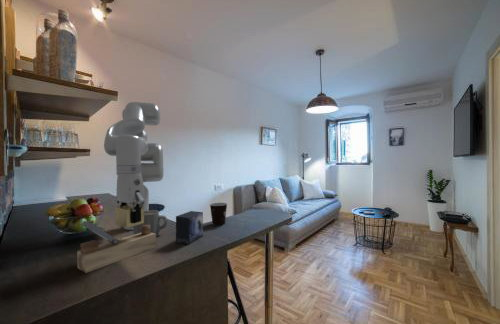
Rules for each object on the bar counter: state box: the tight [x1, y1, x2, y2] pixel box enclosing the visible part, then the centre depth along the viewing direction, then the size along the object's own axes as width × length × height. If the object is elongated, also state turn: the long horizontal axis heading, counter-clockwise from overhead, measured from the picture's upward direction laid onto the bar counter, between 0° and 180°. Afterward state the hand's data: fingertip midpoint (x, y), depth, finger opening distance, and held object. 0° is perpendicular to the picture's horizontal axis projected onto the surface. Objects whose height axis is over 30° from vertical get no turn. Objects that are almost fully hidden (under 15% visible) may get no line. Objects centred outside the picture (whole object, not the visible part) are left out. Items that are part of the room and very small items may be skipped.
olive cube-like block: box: [114, 204, 144, 228], centre depth 75 cm, size 7×6×6 cm
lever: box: [81, 220, 119, 244], centre depth 67 cm, size 5×1×11 cm
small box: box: [175, 210, 204, 245], centre depth 87 cm, size 11×6×10 cm, turn 161°
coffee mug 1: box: [133, 209, 169, 237], centre depth 93 cm, size 13×10×10 cm
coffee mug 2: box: [209, 202, 228, 226], centre depth 108 cm, size 12×9×10 cm
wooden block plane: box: [76, 225, 157, 274], centre depth 72 cm, size 6×22×8 cm, turn 148°
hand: (129, 220), depth 75 cm, fingers closed on olive cube-like block, 7 cm apart
